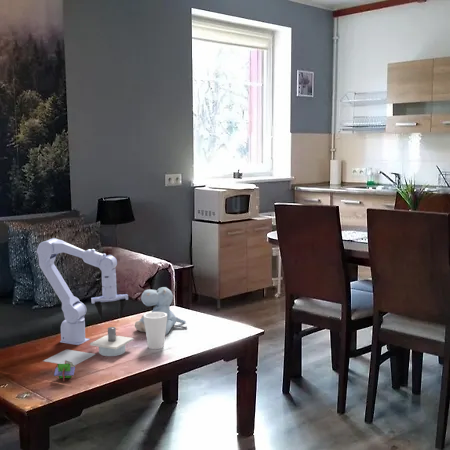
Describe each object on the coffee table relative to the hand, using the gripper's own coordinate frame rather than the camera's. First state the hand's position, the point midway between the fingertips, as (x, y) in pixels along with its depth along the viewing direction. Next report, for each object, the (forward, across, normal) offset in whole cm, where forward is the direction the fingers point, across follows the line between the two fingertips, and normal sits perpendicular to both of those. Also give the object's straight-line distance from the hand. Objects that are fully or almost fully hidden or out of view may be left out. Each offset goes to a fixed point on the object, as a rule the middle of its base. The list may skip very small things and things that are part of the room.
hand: (110, 318), depth 246 cm
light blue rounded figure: (+11, +25, +13) cm, 30 cm away
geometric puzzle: (+11, -22, -33) cm, 41 cm away
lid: (+6, -2, -11) cm, 13 cm away
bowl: (+10, -2, -11) cm, 15 cm away
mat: (+10, -18, -12) cm, 24 cm away
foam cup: (+11, +16, -10) cm, 22 cm away
